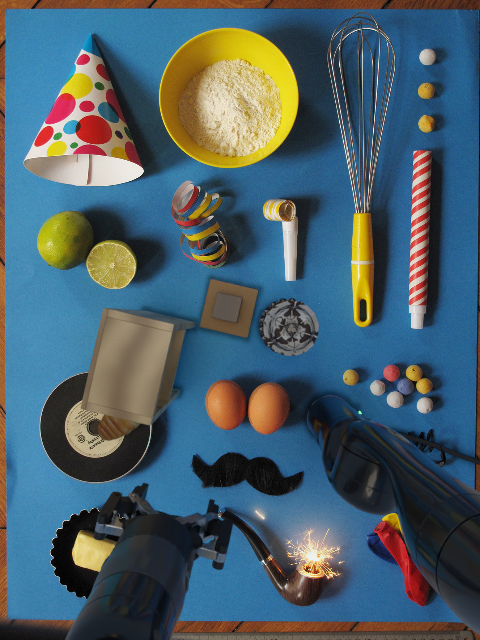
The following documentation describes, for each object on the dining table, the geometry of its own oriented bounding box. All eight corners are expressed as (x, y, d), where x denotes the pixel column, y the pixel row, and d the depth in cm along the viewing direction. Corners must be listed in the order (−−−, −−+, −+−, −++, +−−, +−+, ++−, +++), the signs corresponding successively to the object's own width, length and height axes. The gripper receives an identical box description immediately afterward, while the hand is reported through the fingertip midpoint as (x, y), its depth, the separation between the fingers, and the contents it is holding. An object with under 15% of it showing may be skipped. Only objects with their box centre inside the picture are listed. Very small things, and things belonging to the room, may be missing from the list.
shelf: (195, 322, 86) (174, 324, 62) (178, 395, 86) (150, 425, 62) (144, 310, 86) (103, 307, 62) (127, 383, 86) (80, 408, 62)
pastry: (112, 446, 86) (106, 452, 82) (92, 420, 86) (85, 425, 82) (148, 418, 86) (143, 423, 82) (127, 392, 86) (121, 396, 82)
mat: (258, 290, 85) (258, 289, 85) (247, 337, 85) (247, 337, 85) (210, 279, 85) (210, 278, 85) (199, 326, 85) (199, 326, 85)
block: (243, 298, 85) (242, 297, 80) (237, 322, 85) (236, 323, 80) (219, 293, 85) (217, 291, 80) (213, 317, 85) (211, 317, 80)
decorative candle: (287, 293, 85) (302, 283, 60) (311, 332, 85) (336, 338, 60) (248, 317, 85) (248, 317, 60) (272, 355, 85) (281, 372, 60)
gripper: (56, 601, 37) (116, 513, 53) (215, 641, 36) (226, 540, 52) (75, 518, 36) (129, 456, 53) (234, 557, 36) (239, 483, 52)
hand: (177, 498), depth 53 cm, fingers open, 8 cm apart
